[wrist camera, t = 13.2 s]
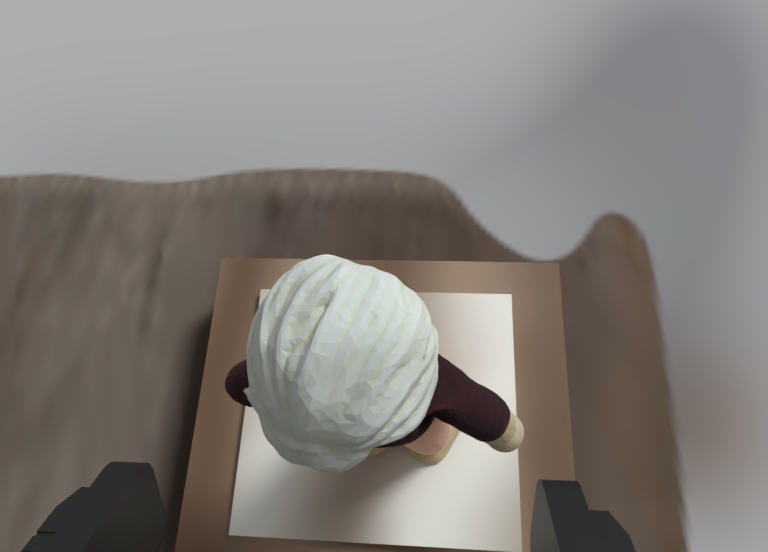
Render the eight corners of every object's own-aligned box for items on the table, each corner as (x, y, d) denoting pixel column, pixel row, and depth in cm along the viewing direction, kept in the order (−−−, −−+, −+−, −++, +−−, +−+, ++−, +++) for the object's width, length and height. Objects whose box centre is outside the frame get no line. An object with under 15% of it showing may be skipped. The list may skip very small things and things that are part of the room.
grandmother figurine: (488, 360, 20) (583, 187, 8) (499, 469, 18) (634, 463, 6) (285, 368, 20) (83, 217, 8) (281, 475, 19) (31, 481, 7)
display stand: (209, 561, 22) (164, 580, 18) (248, 285, 26) (218, 254, 22) (557, 583, 20) (588, 608, 17) (540, 291, 24) (561, 259, 21)
